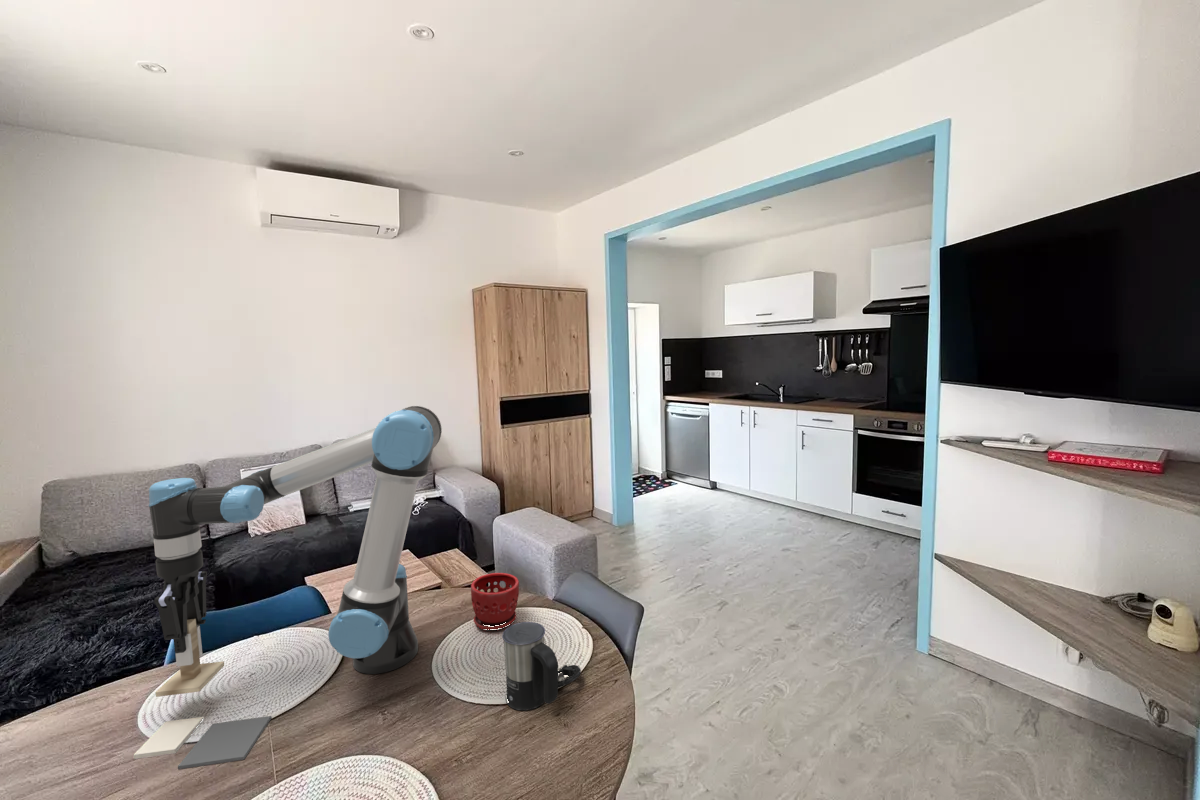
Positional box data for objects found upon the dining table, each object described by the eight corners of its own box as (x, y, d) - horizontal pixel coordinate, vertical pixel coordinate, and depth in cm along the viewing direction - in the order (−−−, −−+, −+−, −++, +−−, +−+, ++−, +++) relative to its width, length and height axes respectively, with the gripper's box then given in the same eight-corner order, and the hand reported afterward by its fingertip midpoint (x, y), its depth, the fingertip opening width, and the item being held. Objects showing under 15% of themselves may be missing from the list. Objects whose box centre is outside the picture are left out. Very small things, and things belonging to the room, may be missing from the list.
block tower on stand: (224, 665, 113) (219, 609, 112) (199, 691, 104) (193, 631, 103) (184, 670, 111) (178, 613, 110) (155, 696, 103) (149, 636, 101)
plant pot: (471, 638, 133) (469, 595, 132) (473, 614, 146) (471, 574, 145) (521, 632, 136) (519, 589, 135) (519, 608, 149) (517, 569, 148)
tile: (203, 716, 105) (175, 749, 96) (204, 724, 105) (175, 757, 97) (165, 721, 104) (133, 754, 95) (166, 729, 104) (134, 763, 95)
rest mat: (271, 718, 105) (271, 715, 105) (244, 759, 95) (243, 756, 94) (212, 726, 103) (212, 723, 103) (178, 769, 93) (177, 766, 93)
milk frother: (496, 705, 108) (493, 638, 106) (534, 663, 122) (532, 604, 121) (555, 722, 102) (552, 653, 101) (587, 676, 116) (586, 615, 115)
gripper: (182, 541, 112) (193, 642, 114) (130, 570, 97) (143, 685, 99) (220, 538, 113) (229, 638, 115) (174, 566, 98) (186, 680, 100)
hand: (189, 660), depth 107 cm, fingers closed on block tower on stand, 2 cm apart
